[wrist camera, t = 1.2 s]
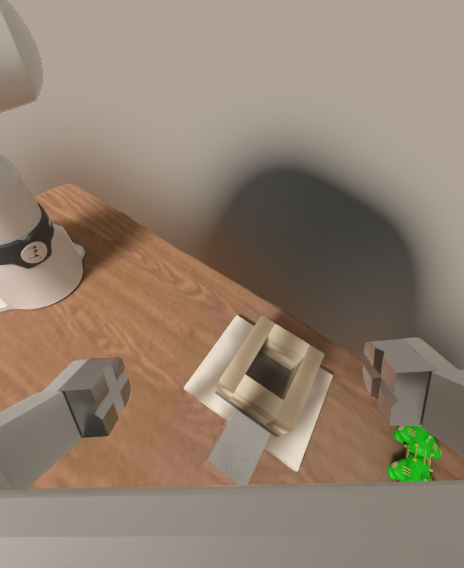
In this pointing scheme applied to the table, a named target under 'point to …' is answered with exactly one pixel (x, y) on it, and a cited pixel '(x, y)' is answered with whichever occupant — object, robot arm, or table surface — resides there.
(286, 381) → the square socket base
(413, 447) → the crocodile figurine
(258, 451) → the grey rectangular bar
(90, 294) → the table surface
